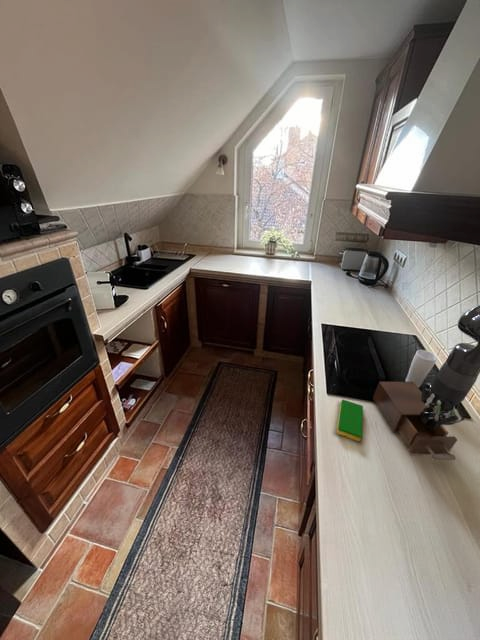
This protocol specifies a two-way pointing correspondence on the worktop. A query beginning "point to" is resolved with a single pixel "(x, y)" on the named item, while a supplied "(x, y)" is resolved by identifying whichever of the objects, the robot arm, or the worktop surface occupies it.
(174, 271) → the worktop surface
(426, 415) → the clip
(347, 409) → the dish sponge
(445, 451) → the drawer
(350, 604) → the worktop surface
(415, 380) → the drinking glass
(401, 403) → the cabinet
